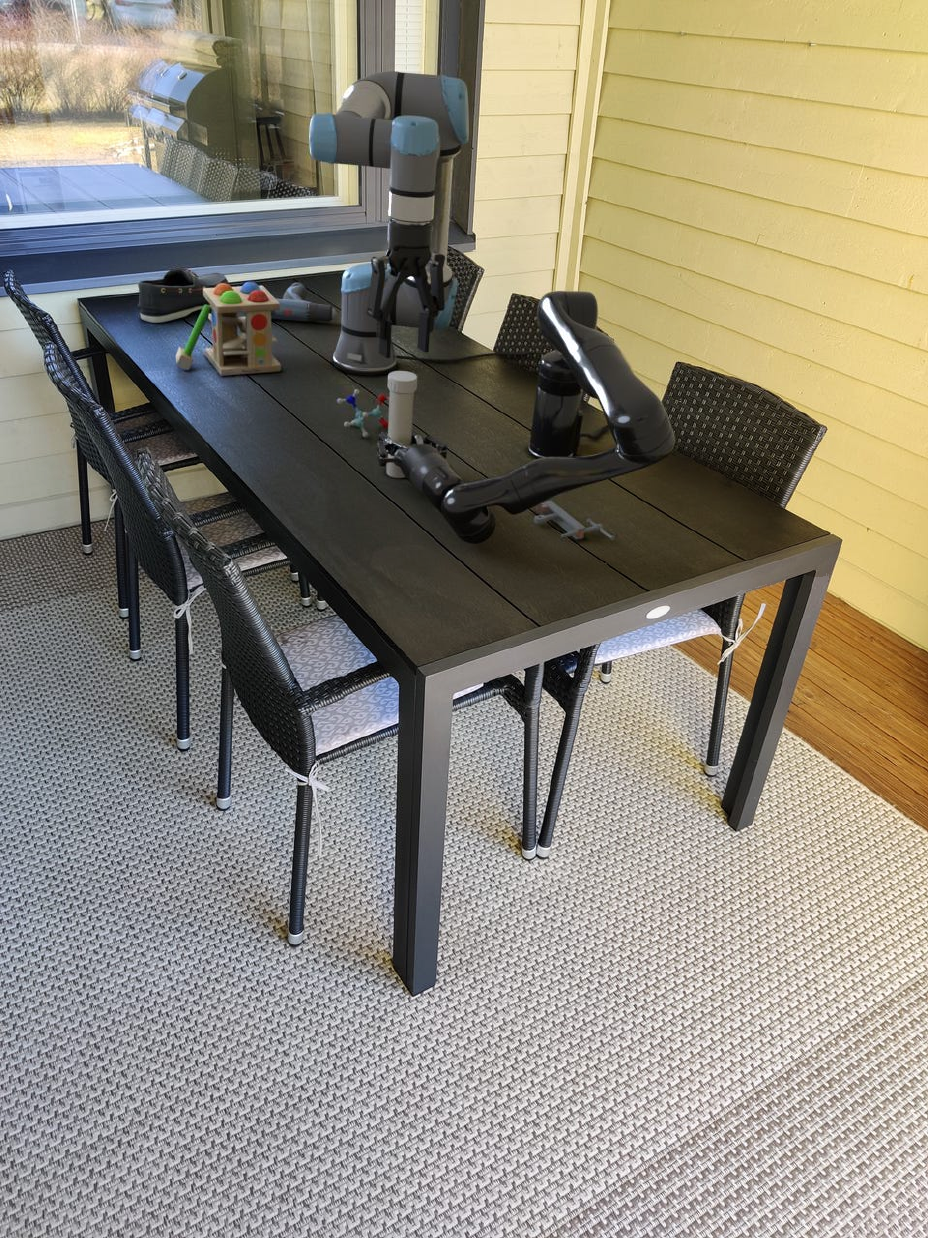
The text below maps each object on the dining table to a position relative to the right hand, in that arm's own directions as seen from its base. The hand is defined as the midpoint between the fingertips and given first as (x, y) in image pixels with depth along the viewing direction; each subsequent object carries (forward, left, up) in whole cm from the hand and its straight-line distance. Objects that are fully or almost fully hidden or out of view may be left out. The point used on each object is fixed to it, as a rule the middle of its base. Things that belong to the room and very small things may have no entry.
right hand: (394, 434), depth 189 cm
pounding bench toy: (+18, -61, -7) cm, 64 cm away
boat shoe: (+17, -105, -7) cm, 107 cm away
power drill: (-13, -95, -7) cm, 96 cm away
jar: (0, +3, -7) cm, 7 cm away
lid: (0, +3, +12) cm, 13 cm away
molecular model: (-1, -19, -7) cm, 20 cm away
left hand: (0, +3, +17) cm, 17 cm away
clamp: (-21, +33, -7) cm, 39 cm away
